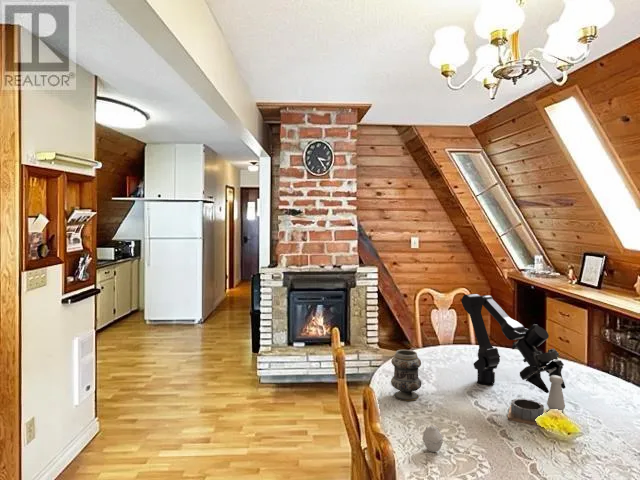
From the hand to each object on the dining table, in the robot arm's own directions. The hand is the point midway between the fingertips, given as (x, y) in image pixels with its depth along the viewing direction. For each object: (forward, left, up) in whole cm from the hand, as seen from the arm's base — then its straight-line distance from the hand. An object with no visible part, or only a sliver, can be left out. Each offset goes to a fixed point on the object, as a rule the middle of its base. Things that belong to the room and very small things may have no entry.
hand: (556, 390), depth 158 cm
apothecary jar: (-53, -12, -8) cm, 55 cm away
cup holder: (-9, -10, -8) cm, 16 cm away
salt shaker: (0, 0, -8) cm, 8 cm away
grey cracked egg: (-33, -49, -8) cm, 60 cm away
